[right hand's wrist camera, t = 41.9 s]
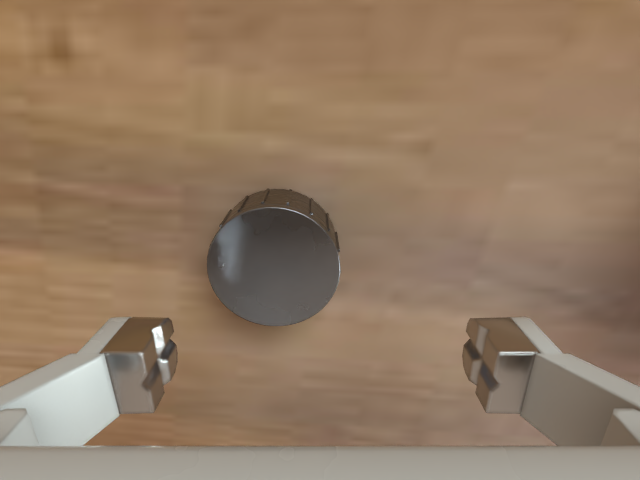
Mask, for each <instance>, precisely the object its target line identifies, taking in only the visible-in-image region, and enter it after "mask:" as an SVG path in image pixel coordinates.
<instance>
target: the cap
mask: <svg viewBox="0 0 640 480" xmlns="http://www.w3.org/2000/svg"><path fill="white" fill-rule="evenodd" d="M219 227H221V228H220V229H219V231H218V232H217V234H216V235H215V237H214V239H213V241H212V243H211V244H210V248H209V252H208V257H207V271H208V276H209V280H210V283H211V286H212V288H213V290H214V292H215V294H216V295H217V297H218V298H219V299H220V301H221V302H222V303H223V304H224V305H225V306H226V307H227V308H228V309H229V310H231V311H232V312H233V313H235V314H236V315H238V316H239V317H241V318H243V319H245V320H248V321H250V322H253V323H257V324H261V325H267V326H285V325H291V324H295V323H298V322H302V321H304V320H306V319H308V318H310V317H312V316H313V315H315V314H316V313H318V312H319V311H320V310H321V309H323V307H324V306H325V305H326V304H327V303H328V302H329V301H330V299H331V298H332V296H333V294H334V292H335V291H336V288H337V285H338V282H339V277H340V272H341V271H340V259H339V253H338V252H340V248H339V242H338V236H337V232H335V230H334V227H333V224H332V222H331V220H330V218H329V214H328V213H327V214H326V212H325V211H324V210H323V209H322V208H321V207H320V206H319V205H318V204H317V203H316V202H314V201H313V199H312V198H311V199H310V198H308V197H307V196H305V195H302V194H300V193H297V192H294V191H292V190H284V189H271V190H269V189H267V190H265V191H260V192H257V193H255V194H252V195H250V196H246V197H245V198H244V200H242V201H241V202H239V203H238V204H237V205H236V206H235V207H234V209H233V210H230V211H229V212H228V214H227V215H226V217H225V218H224V220H223V221H222V223H221V224H220V226H219Z"/></svg>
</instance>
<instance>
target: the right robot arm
mask: <svg viewBox="0 0 640 480" xmlns="http://www.w3.org/2000/svg"><path fill="white" fill-rule="evenodd" d="M173 332H174V329H173V324H172V321H171V320H170V319H169V318H154V317H113V318H110V319H109V320H108V321H107V322H106V323H105V324H104V325H103V326H102V327H101V328H100V329H99V331H98V332H97V333H96V334H95V335H94V336H93V337H92V338H91V339H90V340H89V341H88V342H87V343H86V344H85V345H84V346H83V347H82V348H81V350H80V351H79V352H78V353H77V354H69V355H67V356H64V357H62V358H60V359H58V360H56V361H54V362H52V363H50V364H47V365H45V366H43V367H41V368H39V369H37V370H35V371H33V372H30V373H28V374H26V375H24V376H22V377H20V378H18V379H16V380H13V381H11V382H9V383H7V384H5V385H3V386H1V387H0V480H640V387H639V386H637V385H635V384H633V383H631V382H629V381H626V380H624V379H622V378H620V377H618V376H616V375H614V374H612V373H609V372H607V371H605V370H603V369H601V368H599V367H597V366H595V365H593V364H590V363H588V362H586V361H584V360H582V359H580V358H578V357H576V356H573V355H571V354H563V353H562V352H561V351H560V349H559V348H558V347H557V346H556V345H555V344H554V343H553V342H552V341H551V340H550V339H549V338H548V337H547V336H546V335H545V334H544V333H543V332H542V330H541V329H540V328H539V327H538V326H537V325H536V324H535V323H534V322H533V321H532V320H531V319H530V318H527V317H507V318H470V319H469V321H468V323H467V329H466V332H467V334H468V336H469V337H470V339H469V340H468V341H467V342H466V343H465V344H464V347H463V355H462V357H463V367H464V370H465V373H466V375H467V377H468V379H469V381H471V382H472V383H474V384H475V385H477V388H476V395H477V397H478V399H479V400H480V402H481V404H482V406H483V408H484V410H485V412H486V413H507V414H520V416H522V417H523V418H524V419H525V420H527V421H528V422H529V423H530V424H531V425H533V426H534V427H535V428H536V429H538V430H539V431H540V432H541V433H543V434H544V435H545V436H546V437H547V438H549V439H550V440H551V441H552V442H554V443H555V444H556V445H557V446H83V445H84V444H85V443H87V442H88V441H89V440H90V439H91V438H93V437H94V436H95V435H96V434H98V433H99V432H100V431H101V430H103V429H104V428H105V427H106V426H107V425H109V424H110V423H111V422H112V421H114V420H115V419H116V418H117V417H119V416H120V415H119V414H132V413H154V412H155V410H156V408H157V406H158V404H159V402H160V400H161V399H162V397H163V395H164V387H163V385H165V384H166V383H168V382H169V381H171V379H172V377H173V375H174V373H175V370H176V365H177V347H176V344H175V343H174V342H173V341H172V340H171V339H170V337H171V336H172V334H173Z"/></svg>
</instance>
